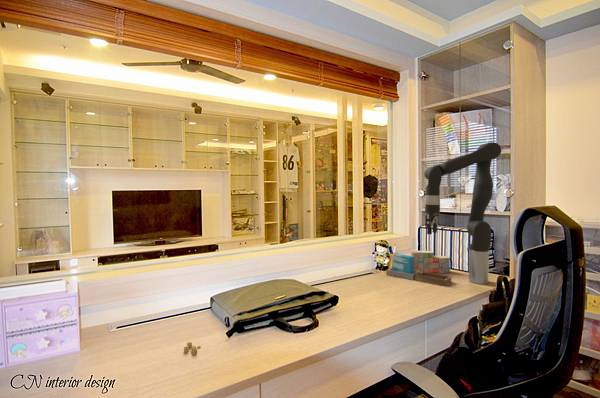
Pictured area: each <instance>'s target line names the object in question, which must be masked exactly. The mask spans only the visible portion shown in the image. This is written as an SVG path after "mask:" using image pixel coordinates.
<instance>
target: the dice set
mask: <svg viewBox="0 0 600 398" xmlns="http://www.w3.org/2000/svg"><path fill="white" fill-rule="evenodd" d="M201 347H202V346H201V345H197V346H196V345H193V342H192V341H189V342H186V346H184V347H183V352H184V353H189V352H190V349H191V354H192V355H197V354H198V349H201Z"/></svg>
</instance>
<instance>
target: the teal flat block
mask: <svg viewBox="0 0 600 398" xmlns="http://www.w3.org/2000/svg"><path fill="white" fill-rule="evenodd" d="M391 259H392V261H391V266H392V267H391V268H392V271H397V272H403V273H409V274H413V273H414V257H413V256H411V255H407V254H402V253H396V254H393V255H392V257H391Z"/></svg>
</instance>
